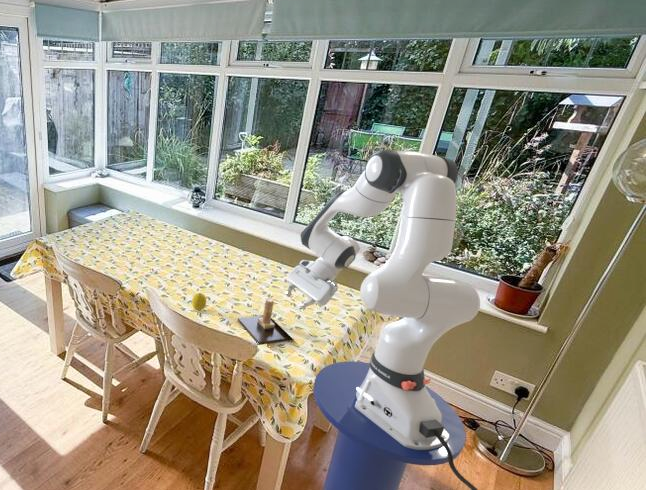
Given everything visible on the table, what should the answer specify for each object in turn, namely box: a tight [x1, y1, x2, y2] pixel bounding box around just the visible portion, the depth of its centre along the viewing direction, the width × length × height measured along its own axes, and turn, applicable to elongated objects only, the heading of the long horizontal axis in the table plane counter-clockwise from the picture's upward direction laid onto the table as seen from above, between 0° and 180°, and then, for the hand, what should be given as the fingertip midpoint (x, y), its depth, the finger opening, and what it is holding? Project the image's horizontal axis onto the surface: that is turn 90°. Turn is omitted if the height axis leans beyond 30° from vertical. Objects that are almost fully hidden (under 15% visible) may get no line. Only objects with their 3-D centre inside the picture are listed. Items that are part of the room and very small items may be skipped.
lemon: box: [191, 292, 207, 311], centre depth 162 cm, size 6×6×8 cm
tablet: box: [237, 314, 295, 346], centre depth 153 cm, size 16×20×1 cm
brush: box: [257, 297, 275, 332], centre depth 150 cm, size 5×4×12 cm
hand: (293, 300), depth 150 cm, fingers open, 8 cm apart
